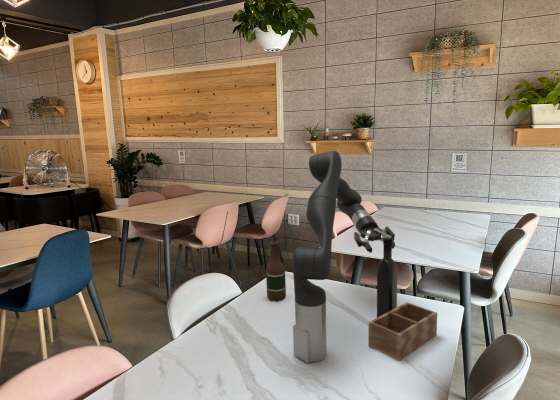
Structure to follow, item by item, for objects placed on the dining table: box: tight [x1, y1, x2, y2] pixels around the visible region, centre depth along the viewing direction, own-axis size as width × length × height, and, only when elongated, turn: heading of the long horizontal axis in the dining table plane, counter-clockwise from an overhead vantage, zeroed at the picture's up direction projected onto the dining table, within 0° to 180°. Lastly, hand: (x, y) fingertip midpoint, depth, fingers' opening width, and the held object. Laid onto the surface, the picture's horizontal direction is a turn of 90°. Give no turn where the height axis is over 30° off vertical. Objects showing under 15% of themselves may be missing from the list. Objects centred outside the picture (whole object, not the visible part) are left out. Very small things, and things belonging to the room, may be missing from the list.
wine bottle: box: [376, 237, 398, 318], centre depth 133 cm, size 6×6×30 cm
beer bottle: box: [265, 240, 287, 303], centre depth 156 cm, size 8×8×24 cm
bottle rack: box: [368, 301, 438, 362], centre depth 122 cm, size 21×11×8 cm, turn 130°
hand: (382, 248), depth 137 cm, fingers open, 8 cm apart
